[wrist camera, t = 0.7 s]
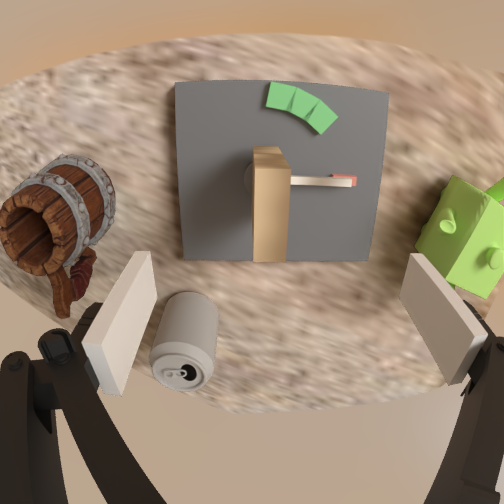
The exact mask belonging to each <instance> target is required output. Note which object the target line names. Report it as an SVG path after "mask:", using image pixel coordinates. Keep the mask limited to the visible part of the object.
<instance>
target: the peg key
mask: <svg viewBox="0 0 504 504" xmlns="http://www.w3.org/2000/svg"><path fill="white" fill-rule="evenodd" d="M244 184H245V187H246V189H247V191H248V192H249V194H251V195H252V236H253V262H286V250H287V235H288V220H289V203H290V185H319V186H340V187H351V186H352V179H351V178H339V177H320V176H296V175H291V168H290V166H289V164H288V163H287V161H286V159H285V157H284V156H283V154H282V152H281V150H280V149H279V147H278V146H253V161H252V162H250V163H249V164H248V166H247V168H246V170H245V173H244Z"/></svg>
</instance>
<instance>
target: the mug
mask: <svg viewBox="0 0 504 504" xmlns="http://www.w3.org/2000/svg"><path fill="white" fill-rule="evenodd" d="M114 215H115V191H114V188H113V185H112V183H111V180H110V178H109V176H108V175H107V174H106V172H105V171H104V170H103V168H102V169H101V168H100V167H99V165H98V164H97V163H95V162H94V161H92V160H91V159H89V158H86V157H82V156H77V155H72V154H71V155H67V156H65V155H64V154H61V155H60V156H59V157H58V158H57V159H55V160H54V161H52V162H51V163H50V164H48V165H47V166H46V167H45V168H43V169H42V170H40V171H39V173H38V174H36V173H31V174H30V176H29V178H27V179H26V180H24V181H23V182H22V183H21V184H20V185H19V186H17V187H16V188H15V190H13V191H12V196H11V197H10V198H9V199H8V200H6V201H5V202H4V203H3V206H2V208H1V210H0V226H1V228H0V239H1V242H2V245H3V247H4V249H5V251H6V253H7V254H8V256H9V257H10V258H11V259H12V261H13V262H14V261H18V264H17V266H19V267H20V268H21V269H23V270H24V271H25V272H28V273H30V274H33V275H36V276H45V275H46V274H47V276H48V278H49V280H50V282H51V285H52V288H53V304H54V308H55V312H56V315H57V316H58V317H59V318H61V319H64V318H69V317H70V305H71V303H72V302H73V301H78V300H79V299H80V298H82V297H83V296H84V294H85V292H86V289H87V287H88V285H89V280H90V278H91V275H92V271H93V269H92V267H93V266H92V265H93V263H94V262H95V260H96V259H97V257H96V253H95V251H94V250H92V249H90V248H89V247H87V246H89V245H91V244H92V245H96V244H97V243H98V240H99V239H100V238H102V237H103V236H104V234H105V233H106V232H107V230H108V229H109V228H110V227H111V225H112V224H113V223H114V219H113V218H114ZM77 258H80V260H79V261H78V262H77V263H76V259H77ZM75 263H76V264H75ZM74 264H75V265H74ZM67 265H74V266H72V267H71V270H70V275H71V277H70V278H68V276H67V274H66V273H65V270H64V267H65V266H67Z"/></svg>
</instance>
